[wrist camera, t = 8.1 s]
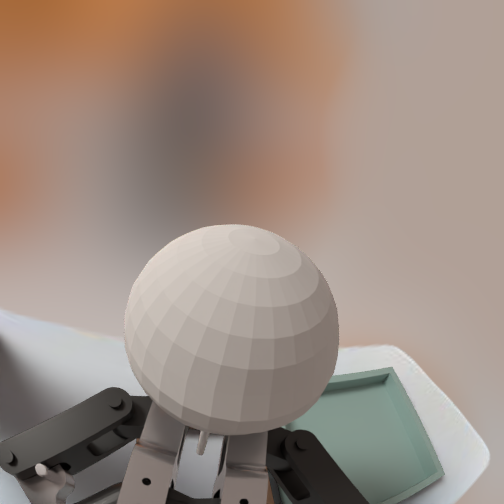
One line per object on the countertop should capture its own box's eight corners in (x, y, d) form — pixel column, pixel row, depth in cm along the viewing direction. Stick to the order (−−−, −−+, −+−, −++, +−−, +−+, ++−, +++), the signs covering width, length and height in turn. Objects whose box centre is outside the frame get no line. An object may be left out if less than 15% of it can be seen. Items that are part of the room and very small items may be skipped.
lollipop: (149, 412, 15) (136, 182, 7) (234, 409, 17) (310, 202, 9) (160, 496, 10) (81, 356, 2) (257, 486, 12) (432, 326, 4)
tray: (290, 538, 11) (301, 539, 9) (259, 393, 23) (265, 380, 22) (428, 482, 14) (445, 474, 13) (381, 379, 27) (392, 366, 26)
